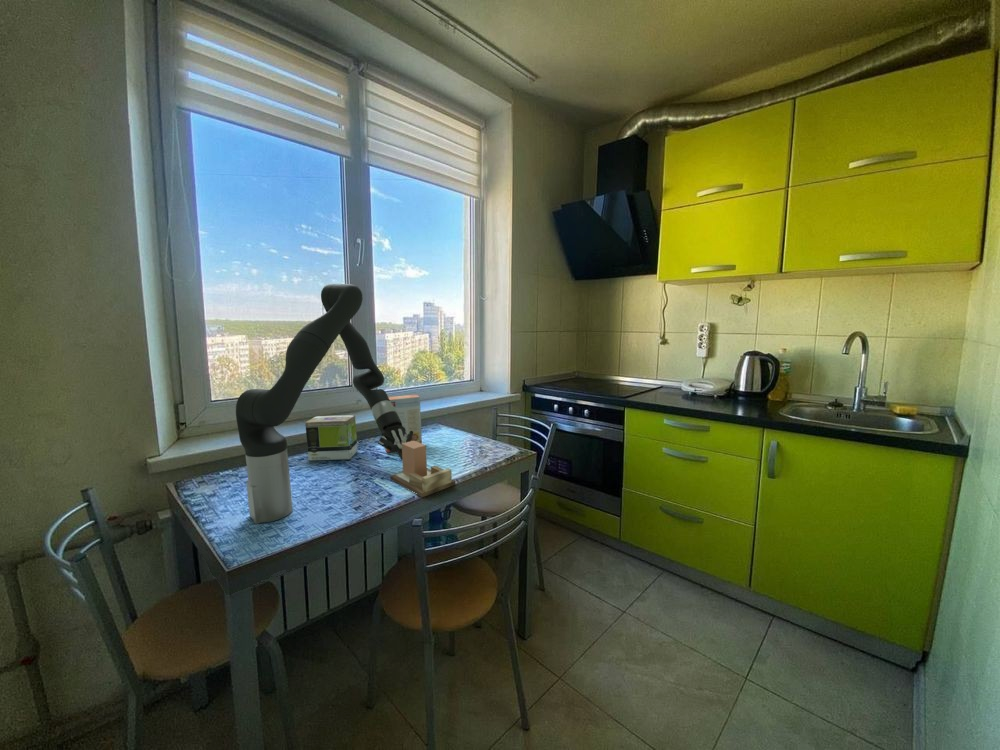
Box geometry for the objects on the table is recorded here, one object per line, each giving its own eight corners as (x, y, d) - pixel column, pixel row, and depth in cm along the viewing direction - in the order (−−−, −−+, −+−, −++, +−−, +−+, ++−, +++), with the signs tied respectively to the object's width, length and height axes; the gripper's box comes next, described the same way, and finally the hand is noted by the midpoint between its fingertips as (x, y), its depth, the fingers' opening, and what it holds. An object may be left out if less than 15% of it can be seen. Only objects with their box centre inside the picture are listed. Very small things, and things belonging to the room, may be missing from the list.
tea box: (358, 451, 150) (355, 414, 148) (349, 460, 140) (347, 420, 138) (318, 452, 149) (315, 414, 147) (307, 461, 139) (304, 421, 137)
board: (422, 497, 110) (421, 480, 109) (390, 479, 123) (389, 463, 122) (455, 484, 118) (454, 468, 118) (422, 469, 131) (421, 454, 130)
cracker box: (419, 443, 158) (417, 393, 155) (422, 448, 153) (420, 396, 150) (383, 448, 153) (381, 396, 150) (386, 453, 147) (383, 399, 144)
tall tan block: (414, 479, 119) (413, 448, 118) (402, 473, 124) (401, 443, 123) (427, 475, 122) (426, 445, 121) (414, 469, 127) (413, 440, 126)
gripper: (371, 413, 126) (392, 459, 119) (406, 407, 135) (428, 448, 128) (364, 426, 130) (384, 470, 123) (399, 419, 140) (419, 460, 133)
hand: (406, 459), depth 126 cm, fingers closed
